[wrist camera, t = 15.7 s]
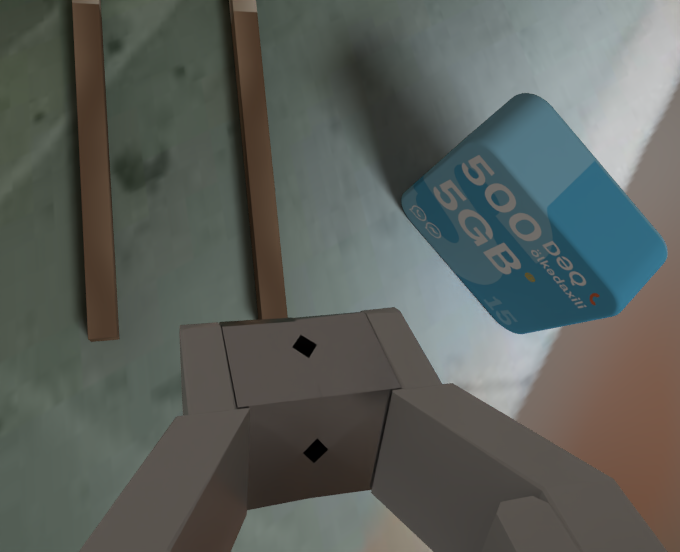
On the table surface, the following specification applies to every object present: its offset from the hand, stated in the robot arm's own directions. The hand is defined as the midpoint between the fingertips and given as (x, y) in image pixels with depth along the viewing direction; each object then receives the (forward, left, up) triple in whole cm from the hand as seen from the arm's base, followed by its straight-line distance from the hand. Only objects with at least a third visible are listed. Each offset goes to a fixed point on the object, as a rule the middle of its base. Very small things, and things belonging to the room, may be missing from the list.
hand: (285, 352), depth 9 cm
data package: (-19, -7, -30) cm, 36 cm away
